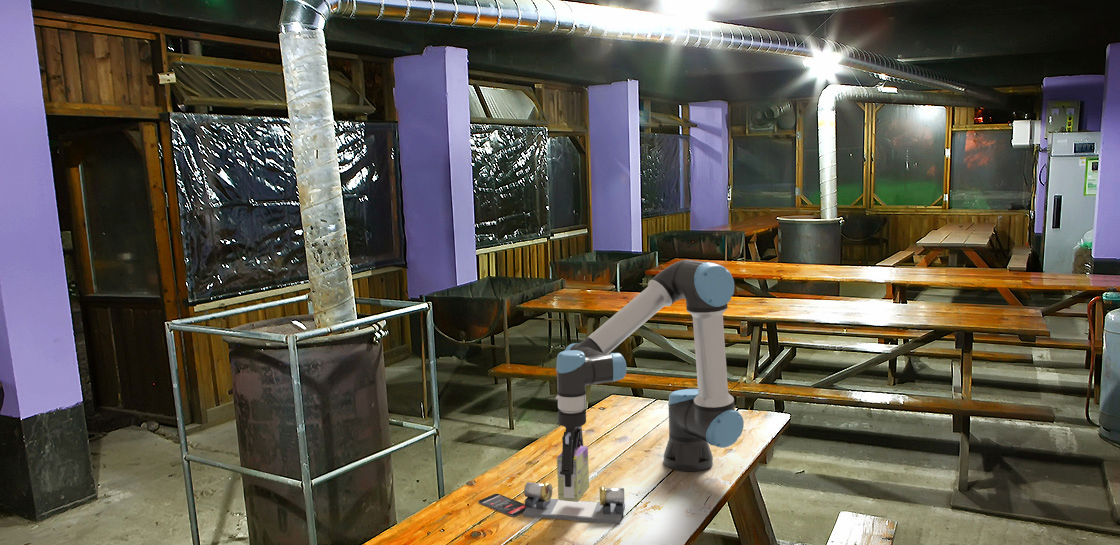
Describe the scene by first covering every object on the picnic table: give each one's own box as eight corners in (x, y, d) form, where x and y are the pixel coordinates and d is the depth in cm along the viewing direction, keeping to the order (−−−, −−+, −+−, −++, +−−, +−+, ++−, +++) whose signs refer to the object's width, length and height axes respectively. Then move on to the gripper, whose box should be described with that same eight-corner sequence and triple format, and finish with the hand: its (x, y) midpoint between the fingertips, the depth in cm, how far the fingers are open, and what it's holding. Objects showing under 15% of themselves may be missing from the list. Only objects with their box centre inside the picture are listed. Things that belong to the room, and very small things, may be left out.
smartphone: (513, 516, 204) (477, 501, 214) (513, 518, 204) (477, 503, 214) (533, 507, 209) (496, 492, 219) (533, 509, 209) (496, 495, 219)
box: (569, 485, 211) (568, 444, 210) (589, 487, 209) (588, 445, 208) (557, 500, 201) (556, 457, 200) (577, 502, 199) (576, 459, 198)
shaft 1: (552, 506, 210) (552, 480, 209) (545, 513, 205) (545, 487, 204) (531, 503, 212) (530, 477, 211) (524, 510, 208) (523, 484, 207)
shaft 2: (624, 509, 206) (623, 483, 205) (624, 517, 202) (624, 490, 201) (600, 509, 207) (599, 483, 206) (600, 517, 202) (599, 491, 201)
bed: (624, 507, 208) (624, 503, 208) (619, 523, 198) (619, 519, 198) (532, 500, 214) (532, 497, 214) (523, 516, 204) (523, 512, 204)
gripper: (567, 396, 214) (569, 471, 217) (547, 422, 192) (550, 505, 195) (593, 397, 213) (595, 472, 215) (576, 423, 190) (578, 507, 193)
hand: (573, 488), depth 205 cm, fingers closed on box, 11 cm apart
